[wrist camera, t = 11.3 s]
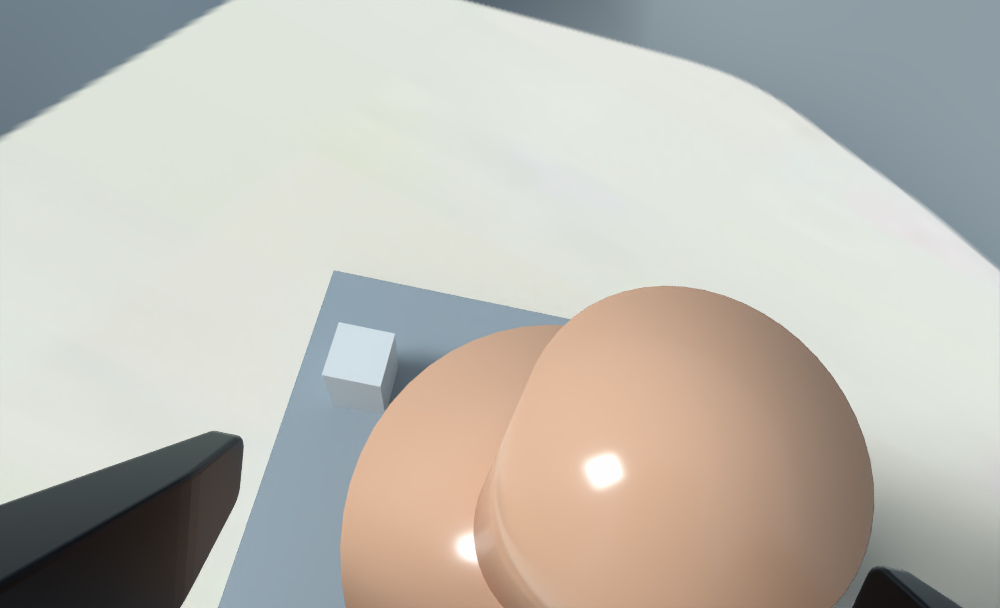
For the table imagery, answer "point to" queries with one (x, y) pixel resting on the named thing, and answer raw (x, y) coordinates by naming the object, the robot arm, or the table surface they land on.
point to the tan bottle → (614, 468)
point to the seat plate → (344, 428)
